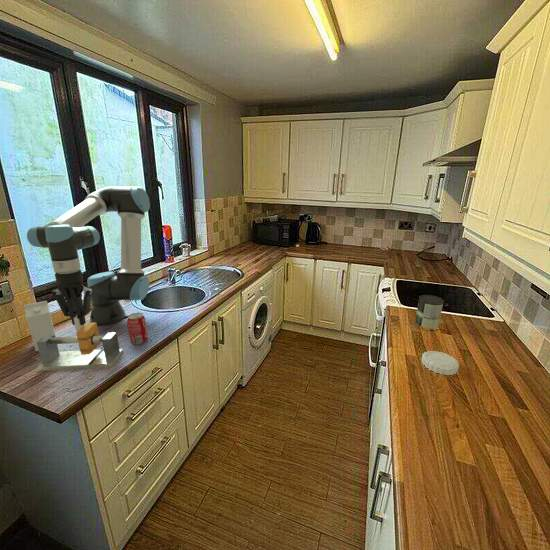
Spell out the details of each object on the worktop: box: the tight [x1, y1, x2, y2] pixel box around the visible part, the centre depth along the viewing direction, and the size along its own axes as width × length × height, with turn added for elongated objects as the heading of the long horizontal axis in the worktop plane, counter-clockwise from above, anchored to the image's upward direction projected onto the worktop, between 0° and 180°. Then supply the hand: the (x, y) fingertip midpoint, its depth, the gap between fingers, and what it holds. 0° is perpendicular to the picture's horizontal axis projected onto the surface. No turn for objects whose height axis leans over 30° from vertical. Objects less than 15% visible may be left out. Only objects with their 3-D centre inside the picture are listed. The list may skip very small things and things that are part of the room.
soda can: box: [126, 312, 149, 345], centre depth 119 cm, size 7×7×12 cm
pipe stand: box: [37, 331, 124, 372], centre depth 106 cm, size 25×10×10 cm, turn 96°
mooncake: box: [420, 350, 460, 376], centre depth 105 cm, size 12×12×4 cm
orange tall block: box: [76, 322, 101, 355], centre depth 105 cm, size 3×8×9 cm, turn 6°
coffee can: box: [414, 294, 445, 329], centre depth 135 cm, size 10×10×14 cm
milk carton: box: [23, 300, 59, 352], centre depth 115 cm, size 7×7×19 cm
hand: (81, 332), depth 104 cm, fingers closed
